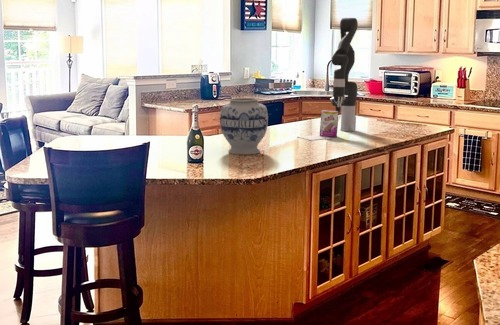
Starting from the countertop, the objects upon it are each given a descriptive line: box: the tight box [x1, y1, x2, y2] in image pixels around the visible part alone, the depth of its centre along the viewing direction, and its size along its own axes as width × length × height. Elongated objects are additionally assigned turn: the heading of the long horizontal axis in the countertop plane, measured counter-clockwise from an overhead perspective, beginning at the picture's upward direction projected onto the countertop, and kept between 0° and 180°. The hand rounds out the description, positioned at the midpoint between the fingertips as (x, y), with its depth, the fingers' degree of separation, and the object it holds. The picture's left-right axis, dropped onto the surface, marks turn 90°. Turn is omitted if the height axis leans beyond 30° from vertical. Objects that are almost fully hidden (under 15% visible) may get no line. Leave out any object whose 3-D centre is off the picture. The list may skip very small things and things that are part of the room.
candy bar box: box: [319, 110, 340, 138], centre depth 406 cm, size 11×5×16 cm, turn 84°
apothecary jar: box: [219, 97, 269, 156], centre depth 352 cm, size 27×27×30 cm
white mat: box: [297, 134, 331, 141], centre depth 403 cm, size 16×14×1 cm
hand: (337, 112), depth 408 cm, fingers closed
